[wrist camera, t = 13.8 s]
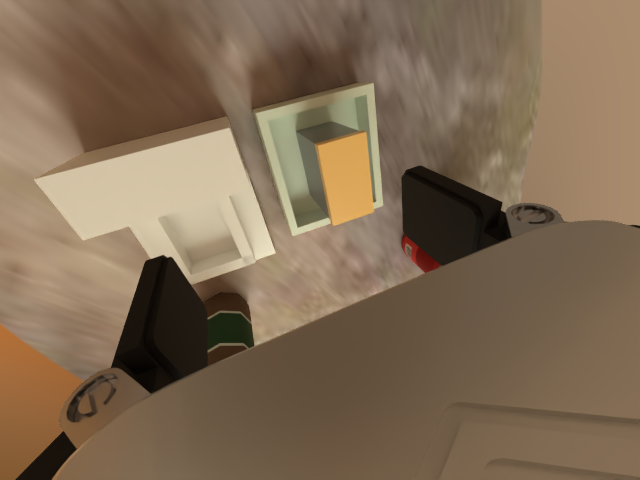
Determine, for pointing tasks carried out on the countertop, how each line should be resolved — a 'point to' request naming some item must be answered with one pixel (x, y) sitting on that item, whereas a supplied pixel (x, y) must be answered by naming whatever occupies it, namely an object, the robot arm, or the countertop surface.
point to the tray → (284, 153)
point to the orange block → (337, 170)
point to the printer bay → (168, 198)
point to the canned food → (418, 255)
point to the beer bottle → (228, 326)
